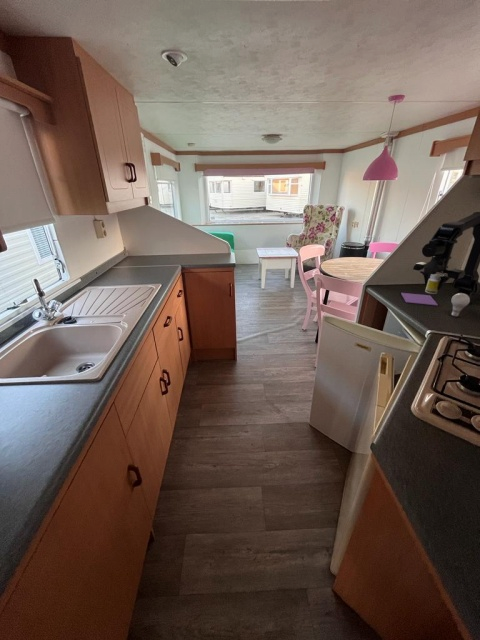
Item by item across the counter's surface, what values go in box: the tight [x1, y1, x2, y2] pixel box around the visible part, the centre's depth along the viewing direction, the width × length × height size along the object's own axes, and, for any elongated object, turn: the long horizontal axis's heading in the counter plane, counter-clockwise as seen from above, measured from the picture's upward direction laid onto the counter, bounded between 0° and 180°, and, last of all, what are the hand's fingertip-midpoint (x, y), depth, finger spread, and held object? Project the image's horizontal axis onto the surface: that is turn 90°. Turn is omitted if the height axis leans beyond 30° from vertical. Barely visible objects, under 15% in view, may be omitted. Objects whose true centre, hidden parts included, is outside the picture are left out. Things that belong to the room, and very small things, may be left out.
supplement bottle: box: [424, 273, 443, 295], centre depth 121 cm, size 5×5×8 cm
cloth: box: [400, 292, 439, 307], centre depth 139 cm, size 14×14×1 cm
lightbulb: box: [450, 293, 471, 317], centre depth 118 cm, size 6×6×11 cm
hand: (432, 288), depth 122 cm, fingers closed on supplement bottle, 5 cm apart
